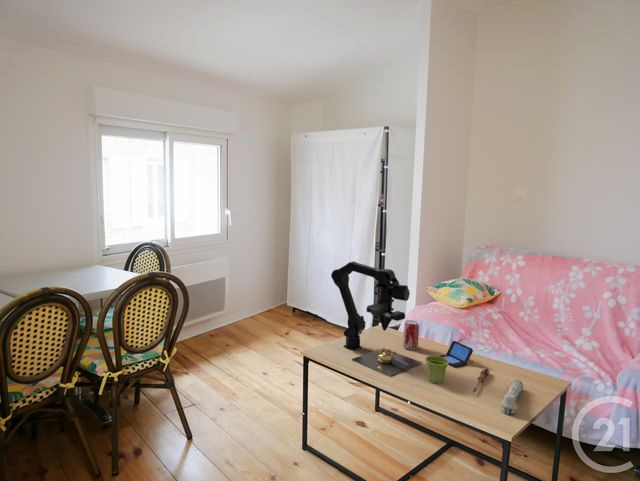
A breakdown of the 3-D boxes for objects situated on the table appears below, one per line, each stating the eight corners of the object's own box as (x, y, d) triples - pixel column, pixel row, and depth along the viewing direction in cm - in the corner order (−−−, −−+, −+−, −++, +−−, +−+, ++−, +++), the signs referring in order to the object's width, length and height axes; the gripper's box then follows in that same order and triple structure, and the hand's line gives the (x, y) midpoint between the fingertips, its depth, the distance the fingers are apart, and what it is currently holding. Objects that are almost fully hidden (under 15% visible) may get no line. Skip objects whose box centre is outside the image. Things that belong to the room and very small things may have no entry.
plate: (351, 360, 199) (351, 358, 198) (383, 349, 213) (383, 348, 213) (389, 376, 182) (390, 375, 182) (421, 363, 197) (421, 362, 197)
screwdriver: (477, 397, 167) (477, 389, 167) (469, 395, 168) (469, 387, 168) (490, 374, 188) (490, 367, 188) (482, 372, 189) (483, 366, 189)
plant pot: (448, 377, 183) (449, 357, 182) (446, 387, 174) (448, 366, 173) (425, 374, 186) (426, 354, 185) (422, 383, 177) (423, 362, 176)
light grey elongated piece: (525, 380, 174) (517, 396, 152) (523, 397, 174) (515, 416, 152) (511, 377, 176) (500, 392, 155) (509, 394, 176) (499, 411, 155)
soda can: (416, 345, 219) (418, 320, 218) (418, 351, 212) (420, 324, 210) (402, 344, 220) (403, 319, 218) (403, 350, 213) (405, 323, 211)
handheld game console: (434, 358, 204) (435, 343, 203) (452, 355, 209) (453, 339, 208) (454, 369, 193) (456, 352, 192) (472, 364, 198) (474, 348, 197)
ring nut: (373, 358, 199) (374, 350, 198) (386, 354, 203) (387, 347, 203) (401, 371, 185) (401, 363, 184) (414, 367, 189) (414, 359, 189)
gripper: (359, 295, 204) (357, 328, 206) (390, 304, 190) (389, 339, 192) (374, 292, 211) (373, 324, 213) (406, 300, 197) (404, 334, 199)
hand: (384, 330), depth 204 cm, fingers closed
